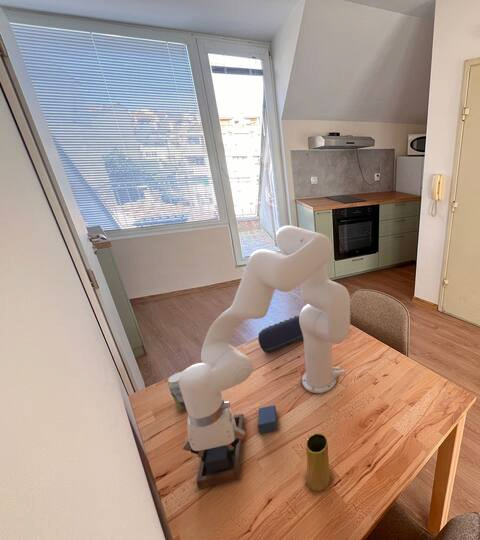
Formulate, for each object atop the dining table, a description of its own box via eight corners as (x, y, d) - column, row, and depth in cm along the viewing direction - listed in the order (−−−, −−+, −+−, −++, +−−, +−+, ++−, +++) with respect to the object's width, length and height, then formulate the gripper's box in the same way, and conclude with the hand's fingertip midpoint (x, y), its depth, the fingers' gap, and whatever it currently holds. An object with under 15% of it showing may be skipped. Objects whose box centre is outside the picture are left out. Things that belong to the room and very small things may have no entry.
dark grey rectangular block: (231, 446, 81) (229, 436, 80) (228, 468, 76) (226, 458, 74) (211, 450, 80) (209, 441, 78) (207, 473, 75) (204, 463, 73)
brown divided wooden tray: (244, 420, 92) (243, 413, 91) (238, 479, 76) (236, 472, 75) (211, 426, 90) (209, 419, 88) (198, 489, 74) (196, 481, 73)
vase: (307, 467, 80) (305, 431, 74) (330, 465, 80) (329, 430, 74) (306, 492, 74) (303, 456, 68) (330, 490, 75) (329, 454, 69)
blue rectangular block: (276, 413, 95) (275, 404, 93) (276, 430, 89) (275, 421, 88) (260, 417, 93) (258, 408, 92) (259, 434, 88) (257, 424, 86)
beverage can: (190, 414, 94) (181, 386, 89) (170, 409, 95) (160, 382, 90) (203, 398, 99) (196, 371, 94) (184, 394, 100) (176, 367, 95)
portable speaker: (307, 325, 138) (306, 307, 134) (319, 336, 132) (318, 317, 127) (255, 347, 124) (252, 327, 120) (265, 360, 117) (262, 339, 113)
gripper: (245, 391, 76) (254, 438, 83) (171, 404, 72) (188, 452, 79) (243, 416, 69) (252, 464, 77) (161, 432, 65) (180, 481, 73)
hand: (219, 458), depth 78 cm, fingers closed on dark grey rectangular block, 5 cm apart
